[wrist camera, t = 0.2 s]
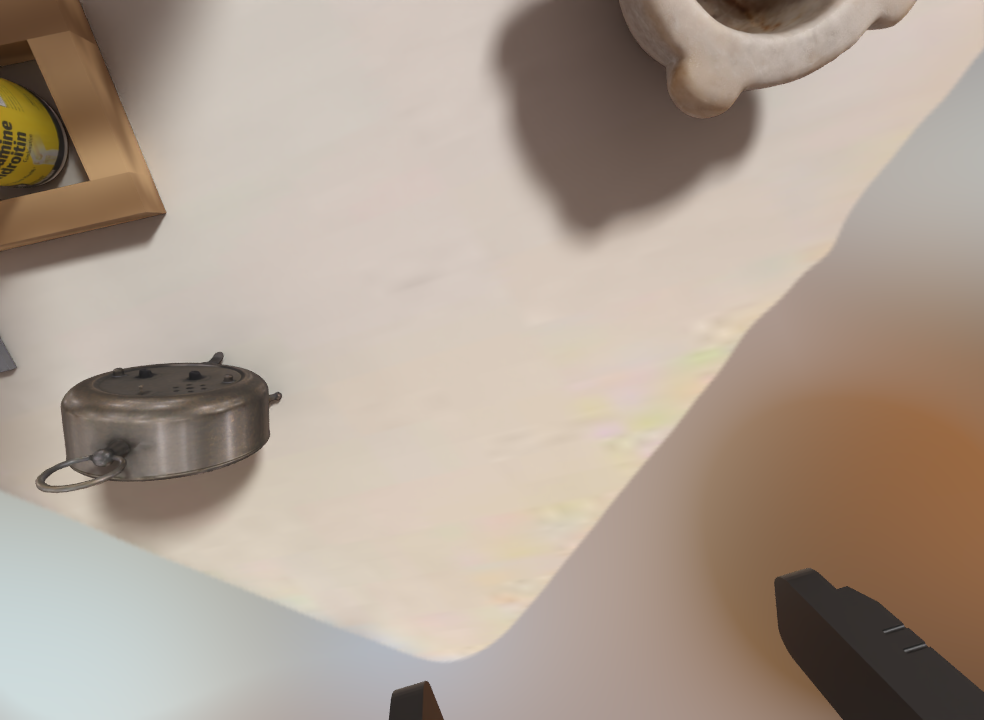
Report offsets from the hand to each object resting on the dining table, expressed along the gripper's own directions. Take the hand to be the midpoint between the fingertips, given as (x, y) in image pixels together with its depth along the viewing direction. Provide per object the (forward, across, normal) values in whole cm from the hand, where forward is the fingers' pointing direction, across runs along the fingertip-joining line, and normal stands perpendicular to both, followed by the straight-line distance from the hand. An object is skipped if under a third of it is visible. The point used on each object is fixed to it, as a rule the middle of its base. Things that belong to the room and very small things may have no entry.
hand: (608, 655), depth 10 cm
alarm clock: (+29, +21, -3) cm, 36 cm away
